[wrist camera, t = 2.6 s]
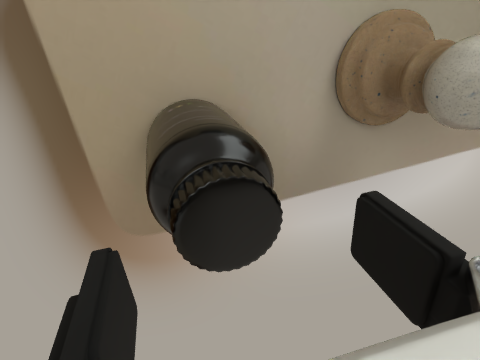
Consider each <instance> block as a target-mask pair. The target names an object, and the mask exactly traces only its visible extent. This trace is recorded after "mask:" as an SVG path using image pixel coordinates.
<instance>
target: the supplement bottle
mask: <svg viewBox="0 0 480 360" xmlns="http://www.w3.org/2000/svg"><path fill="white" fill-rule="evenodd" d="M273 186H274V175H273V169H272V165H271V162H270V159H269V157H268V155H267V153H266V152H265V150H264V149H263V147H262V146H261V145H260V144H259V143H258V142H257V140H255V139H254V138H253V137H252V136H251V135H250V134H249V133H248V132H247V131H246V130H245V129H243V128H242V127H241V126H240V125H239V124H238V123H237V122H236V121H235V120H233V119H232V118H231V117H230V116H229V115H228V114H227V113H226V112H224V111H223V110H222V109H220V108H219V107H217V106H216V105H214V104H212V103H209V102H207V101H203V100H196V99H190V100H183V101H179V102H176V103H174V104H172V105H170V106H168V107H167V108H165V109H164V110H163V111H162V112H160V113H159V115H158V116H157V117H156V118H155V120H154V121H153V123H152V125H151V127H150V130H149V133H148V138H147V158H146V194H147V200H148V204H149V207H150V210H151V212H152V214H153V216H154V217H155V219H156V220H157V222H158V223H159V224H160V225H161V226H162V227H163V228H164V229H165V230H166V231H167V232H169V233H170V234H172V237H173V242H174V244H175V245H176V246H177V251H178V252H179V253H180V254H182V256H183V258H184V259H185V260H187V261H189V262H190V264H191V265H194V266H197V267H198V268H199V269H206V270H207V271H216V272H222V271H231V270H233V269H240V268H241V267H243V266H247V265H249V264H250V263H251V262H253V261H256V260H258V258H259V257H260V256H262V255H264V254H265V253H266V251H267V250H268V249H269V248H270V247H271V246H272V244H273V242H274V241H275V240H276V239H277V234H278V233H279V231H280V229H281V228H280V225H281V223H282V221H283V220H282V213H283V211H282V209H281V202H280V200H279V199H278V198H277V194H276V192H275V191H274V190H273Z"/></svg>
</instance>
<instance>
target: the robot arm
mask: <svg viewBox="0 0 480 360" xmlns="http://www.w3.org/2000/svg"><path fill="white" fill-rule="evenodd" d="M351 253H352V256H353V257H354V259H355V260H356V261H357V262H358V263H359V264H360V265H361V266H362V268H363V269H364V270H365V271H366V272H367V273H368V274H369V275H370V277H371V278H372V279H373V280H374V281H375V282H376V283H377V284H378V285H379V287H380V288H381V289H382V290H383V291H384V292H385V293H386V294H387V295H388V297H389V298H390V299H391V300H392V301H393V302H394V303H395V304H396V306H397V307H398V308H399V309H400V310H401V311H402V312H403V313H404V314H405V316H406V317H407V318H408V319H409V320H410V321H411V322H412V323H413V324H415V325H418V326H419V327H420V328H421V330H418V331H415V332H412V333H409V334H406V335H403V336H400V337H397V338H394V339H390V340H387V341H384V342H381V343H378V344H375V345H372V346H369V347H366V348H363V349H360V350H357V351H354V352H351V353H347V354H345V355H342V356H339V357H335V358H332V359H329V360H480V256H477V257H474V258H472V259H471V260H470V261H469V262H468V261H467V260H466V259H464V258H465V255H466V252H464V251H463V250H462V249H460V248H459V247H457V246H456V245H454V244H453V243H451V242H450V241H448V240H447V239H446V238H444V237H443V236H441V235H440V234H438V233H437V232H435V231H434V230H432V229H431V228H430V227H428V226H427V225H425V224H424V223H422V222H421V221H420V220H418V219H417V218H415V217H414V216H412V215H411V214H410V213H408V212H407V211H405V210H404V209H402V208H401V207H399V206H398V205H397V204H395V203H394V202H392V201H390V200H389V199H388V198H387V197H385V196H384V195H382V194H381V193H379V192H378V191H371V192H367V193H363V194H361V195H360V198H358V199H357V203H356V211H355V219H354V228H353V235H352V243H351ZM136 326H137V305H136V302H135V299H134V296H133V293H132V290H131V288H130V285H129V281H128V279H127V276H126V273H125V270H124V267H123V264H122V261H121V259H120V255H119V253H118V251H117V250H116V251H112V249H111V248H106V249H101V250H96V251H93V252H92V253H91V256H90V259H89V263H88V266H87V269H86V273H85V276H84V279H83V282H82V286H81V289H80V292H79V295H75V296H72V297H71V298H69V300H68V302H67V305H66V309H65V311H64V314H63V317H62V320H61V323H60V326H59V329H58V332H57V335H56V338H55V341H54V344H53V347H52V350H51V353H50V356H49V359H48V360H134V357H135V342H136Z"/></svg>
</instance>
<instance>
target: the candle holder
mask: <svg viewBox="0 0 480 360" xmlns="http://www.w3.org/2000/svg"><path fill="white" fill-rule="evenodd" d="M336 89H337V95H338V98H339V101H340V103H341V105H342V107H343V109H344V110H345V111H346V113H347V114H348V115H350V116H351V117H352V118H353V119H355V120H357V121H359V122H361V123H365V124H368V125H382V124H386V123H389V122H392V121H394V120H396V119H398V118H399V117H401V116H403V115H404V114H405V113H406V112H408V111H409V110H411V111H413V112H416V113H429V114H430V115H431V116H432V118H433V119H434V120H436V121H437V122H439V123H440V124H442V125H444V126H447V127H450V128H453V129H461V130H476V129H480V34H479V35H475V36H471V37H467V38H465V39H463V40H461V41H459V42H457V43H455V42H453V41H451V40H447V39H439V40H435V38H434V34H433V31H432V29H431V27H430V25H429V24H428V22H427V21H426V20H425V19H424V18H423V17H422V16H421V15H420V14H418V13H416V12H414V11H410V10H406V9H394V10H389V11H385V12H382V13H379V14H377V15H375V16H373V17H372V18H370V19H368V20H367V21H366V22H365V23H363V24H362V25H361V26H360V27H359V28H358V29H357V30H356V31H355V33H354V34H353V35H352V36H351V38H350V39H349V41H348V42H347V44H346V46H345V48H344V50H343V52H342V55H341V57H340V60H339V64H338V68H337V75H336Z"/></svg>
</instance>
